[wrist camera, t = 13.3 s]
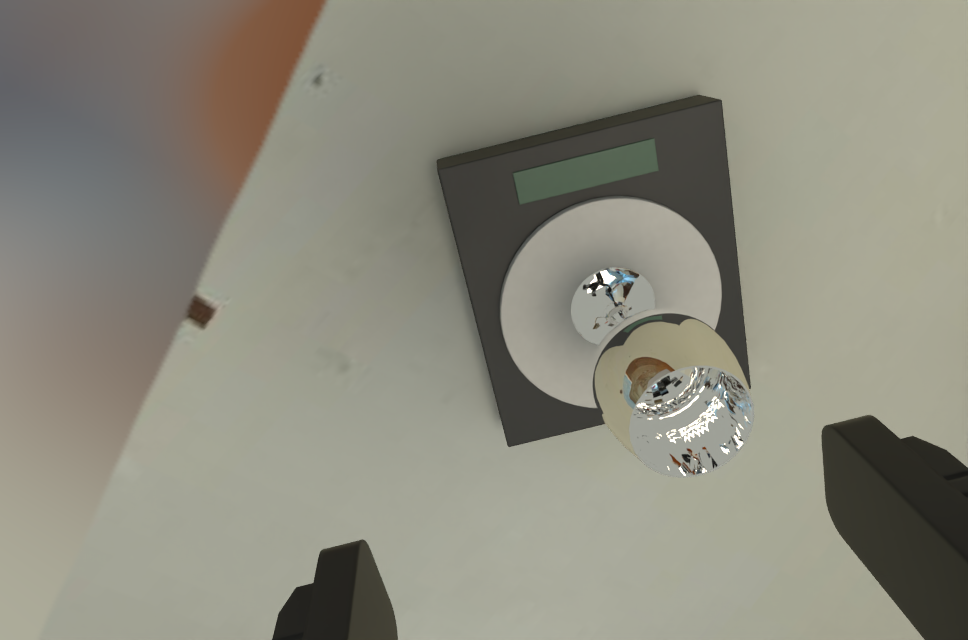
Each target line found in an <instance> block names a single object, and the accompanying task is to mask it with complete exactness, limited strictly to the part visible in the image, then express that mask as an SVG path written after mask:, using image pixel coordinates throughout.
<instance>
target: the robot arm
mask: <svg viewBox="0 0 968 640" xmlns="http://www.w3.org/2000/svg"><path fill="white" fill-rule="evenodd" d="M822 451H823V466H824V481H825V496H826V503H827V507H828V511H829V514H830V516H831V519H832V521H833V523H834V525H835V527H836V529H837V531H838V532H839V534H840V535H841V536H842V538H843V539H844V540H845V541H846V543H847V544H848V545H849V546H850V548H851V549H852V550H853V551H854V553H855V554H856V555H857V556H858V558H859V559H860V560H861V561H862V563H863V564H864V565H865V566H866V567H867V569H868V570H869V571H870V572H871V574H872V575H873V576H874V577H875V579H876V580H877V581H878V582H879V584H880V585H881V586H882V587H883V589H884V590H885V591H886V592H887V593H888V595H889V596H890V597H891V598H892V600H893V601H894V602H895V603H896V605H897V606H898V607H899V608H900V610H901V611H902V612H903V613H904V615H905V616H906V617H907V618H908V619H909V621H910V622H911V623H912V624H913V626H914V627H915V628H916V629H917V631H918V632H919V633H920V634H921V636H922V637H923V638H924V639H925V640H968V468H967V467H966V466H965V465H964V464H962V463H961V462H960V461H959V460H958V459H956V458H955V457H954V456H953V455H951V454H950V453H949V452H948V451H947V450H945V449H942V448H940V447H938V446H935V445H933V444H931V443H928V442H926V441H924V440H921V439H919V438H917V437H914V436H911V437H907V438H903V439H900V438H898V437H897V436H896V435H895V434H894V433H893V432H892V431H890V430H889V429H888V428H887V427H886V426H885V425H884V424H882V423H881V422H880V421H879V420H878V419H877V418H875V417H874V416H871V415H866V416H862V417H858V418H854V419H850V420H846V421H842V422H838V423H834V424H830V425H826V426H825V427H824V428H823V430H822ZM272 640H398V636H397V626H396V620H395V615H394V611H393V608H392V604H391V602H390V599H389V596H388V594H387V591H386V589H385V586H384V584H383V581H382V578H381V576H380V573H379V571H378V568H377V566H376V563H375V560H374V558H373V555H372V553H371V550H370V548H369V546H368V544H367V542H366V541H365V540H359V541H355V542H351V543H347V544H343V545H339V546H335V547H331V548H327V549H323V550H321V552H320V554H319V558H318V563H317V568H316V573H315V578H314V583H312V584H308V585H304V586H300V587H296V589H295V590H294V592H293V593H292V594H291V596H290V597H289V599H288V600H287V602H286V603H285V605H284V606H283V608H282V609H281V611H280V612H279V614H278V618H277V622H276V626H275V631H274V635H273V639H272Z"/></svg>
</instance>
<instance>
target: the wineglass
mask: <svg viewBox="0 0 968 640" xmlns="http://www.w3.org/2000/svg"><path fill="white" fill-rule="evenodd" d="M655 307H656V300H655V294H654V290H653V288H652V286H651V284H650V283H649V281H648V280H647V279H646V278H645V277H644V276H643V275H641V274H640V273H639V272H637V271H635V270H633V269H630V268H627V267H621V266H614V267H607V268H603V269H600V270H598V271H596V272H594V273H592V274H590V275H589V276H588V277H587V278H586V279H584V280H583V281H582V282H581V284H580V285H579V286H578V287H577V289H576V291H575V293H574V295H573V298H572V301H571V308H570V314H571V320H572V323H573V325H574V327H575V329H576V331H577V332H578V334H579V335H580V336H581V337H582V338H584V339H585V340H586V341H588V342H589V343H592V344H594V345H597V346H598V348H597V350H596V353H595V355H594V359H593V363H592V368H591V386H592V392H593V396H594V401H595V403H596V406H597V409H598V411H599V413H600V415H601V417H602V419H603V420H604V422H605V424H606V425H607V427H608V428H609V429H610V431H611V432H612V433H613V435H614V436H615V437H616V438H617V439H618V440H619V441H620V442H621V443H622V445H623V446H624V447H625V448H626V449H627V450H629V451H630V452H631V453H632V454H633V455H634V456H636V457H637V458H638V459H639V460H640V461H641V462H642V463H644V464H645V465H646V466H647V467H649V468H650V469H652V470H653V471H656V472H658V473H660V474H663V475H667V476H671V477H679V478H680V477H694V476H699V475H703V474H706V473H708V472H711V471H714V470H716V469H717V468H719V467H721V466H722V465H724V464H726V463H727V462H728V461H729V460H731V459H732V458H733V457H734V456H735V455H736V454H737V453H738V452H739V451H740V449H741V448H742V447H743V446H744V444H745V443H746V441H747V439H748V437H749V435H750V432H751V430H752V426H753V421H754V404H753V401H752V397H751V393H750V390H749V386H748V384H747V381H746V379H745V376H744V374H743V371H742V369H741V367H740V365H739V363H738V361H737V359H736V357H735V355H734V354H733V352H732V351H731V349H730V348H729V347H728V345H727V344H726V342H725V341H724V340H723V339H722V337H721V336H720V335H719V334H718V333H717V332H716V331H715V330H714V329H713V328H711V327H710V326H709V325H708V324H706V323H705V322H703V321H702V320H700V319H698V318H696V317H695V316H693V315H690V314H688V313H685V312H681V311H677V310H672V309H655Z"/></svg>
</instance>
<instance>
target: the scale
mask: <svg viewBox="0 0 968 640" xmlns="http://www.w3.org/2000/svg"><path fill="white" fill-rule="evenodd" d="M437 170H438V175H439V179H440V183H441V186H442V190H443V194H444V198H445V202H446V206H447V210H448V214H449V218H450V222H451V226H452V230H453V233H454V237H455V241H456V245H457V249H458V253H459V257H460V261H461V265H462V269H463V273H464V276H465V280H466V284H467V288H468V292H469V296H470V300H471V304H472V308H473V312H474V316H475V320H476V323H477V327H478V331H479V335H480V339H481V343H482V347H483V351H484V355H485V359H486V363H487V367H488V370H489V374H490V378H491V382H492V386H493V390H494V394H495V398H496V402H497V406H498V410H499V414H500V417H501V421H502V425H503V429H504V433H505V437H506V441H507V445H508V447H511V446H515V445H519V444H523V443H527V442H532V441H536V440H540V439H544V438H548V437H552V436H557V435H561V434H565V433H569V432H573V431H577V430H582V429H586V428H590V427H594V426H598V425H602V424H605V422H604V420H603V419H602V417H601V415H600V413H599V411H598V409H597V406H596V403H595V401H594V396H593V392H592V386H591V368H592V363H593V359H594V355H595V353H596V350H597V348H598V346H597V345H594V344H592V343H589V342H588V341H586V340H585V339H584V338H582V337H581V336H580V335H579V334H578V332H577V331H576V329H575V327H574V325H573V323H572V320H571V314H570V308H571V301H572V298H573V295H574V293H575V291H576V289H577V287H578V286H579V285H580V284H581V282H582V281H583V280H584V279H586V278H587V277H588V276H589V275H590V274H592V273H594V272H596V271H598V270H600V269H603V268H607V267H614V266H621V267H627V268H630V269H633V270H635V271H637V272H639V273H640V274H641V275H643V276H644V277H645V278H646V279H647V280H648V281H649V283H650V284H651V286H652V288H653V290H654V294H655V300H656V307H655V309H672V310H677V311H681V312H685V313H688V314H690V315H693V316H695V317H696V318H698V319H700V320H702V321H703V322H705V323H706V324H708V325H709V326H710V327H711V328H713V329H714V330H715V331H716V332H717V333H718V334H719V335H720V336H721V337H722V339H723V340H724V341H725V342H726V344H727V345H728V347H729V348H730V349H731V351H732V352H733V354H734V355H735V357H736V359H737V361H738V363H739V365H740V367H741V369H742V371H743V374H744V376H745V379H746V381H747V384H748V386H749V389H751V385H750V375H749V365H748V355H747V345H746V335H745V326H744V316H743V306H742V296H741V286H740V276H739V267H738V257H737V247H736V237H735V227H734V217H733V208H732V198H731V188H730V178H729V168H728V158H727V149H726V139H725V129H724V119H723V109H722V101H721V100H720V99H715V98H711V97H706V96H702V95H697V96H693V97H689V98H685V99H681V100H677V101H673V102H669V103H665V104H661V105H656V106H652V107H648V108H644V109H640V110H636V111H632V112H628V113H624V114H620V115H616V116H612V117H608V118H604V119H600V120H596V121H592V122H588V123H584V124H580V125H576V126H572V127H568V128H564V129H560V130H555V131H551V132H547V133H543V134H539V135H535V136H531V137H527V138H523V139H519V140H515V141H511V142H507V143H503V144H499V145H495V146H491V147H487V148H483V149H479V150H475V151H471V152H467V153H463V154H459V155H455V156H450V157H446V158H442V159H438V160H437Z"/></svg>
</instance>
